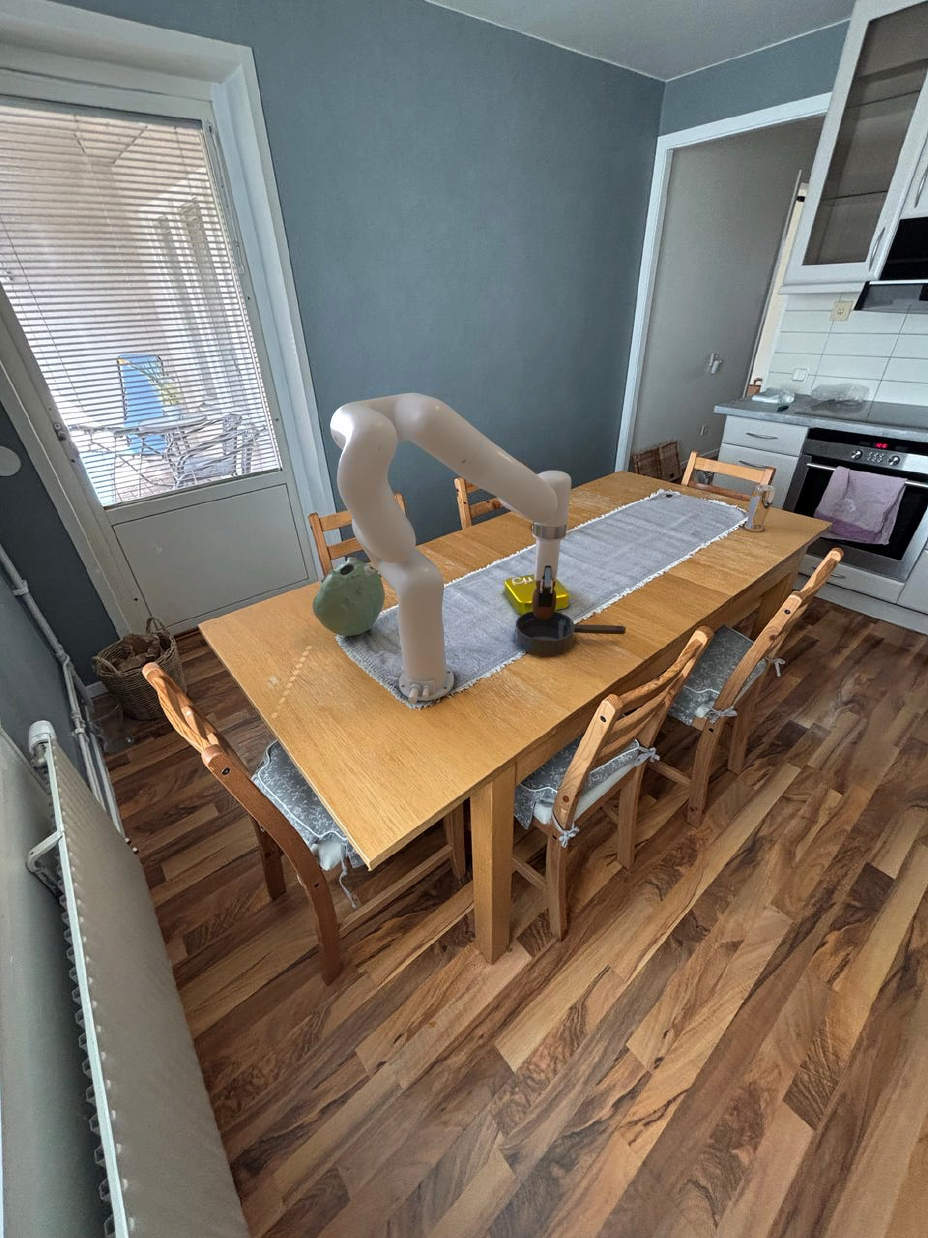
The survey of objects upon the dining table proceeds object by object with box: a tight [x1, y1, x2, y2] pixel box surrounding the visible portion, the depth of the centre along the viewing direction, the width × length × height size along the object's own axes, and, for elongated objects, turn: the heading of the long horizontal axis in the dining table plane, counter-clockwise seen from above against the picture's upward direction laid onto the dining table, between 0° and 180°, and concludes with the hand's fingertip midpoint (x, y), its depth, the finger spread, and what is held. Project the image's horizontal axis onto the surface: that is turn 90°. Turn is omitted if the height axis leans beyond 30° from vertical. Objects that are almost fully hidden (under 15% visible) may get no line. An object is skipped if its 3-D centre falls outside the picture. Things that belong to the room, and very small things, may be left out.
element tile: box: [504, 573, 570, 616], centre depth 144 cm, size 15×15×5 cm
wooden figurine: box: [532, 577, 556, 620], centre depth 120 cm, size 7×6×15 cm
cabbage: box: [312, 556, 386, 637], centre depth 129 cm, size 16×19×20 cm
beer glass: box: [743, 484, 777, 532], centre depth 177 cm, size 7×7×15 cm
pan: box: [514, 610, 575, 657], centre depth 127 cm, size 15×15×4 cm
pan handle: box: [574, 623, 627, 635], centre depth 125 cm, size 2×13×1 cm, turn 83°
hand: (544, 598), depth 121 cm, fingers closed on wooden figurine, 6 cm apart
